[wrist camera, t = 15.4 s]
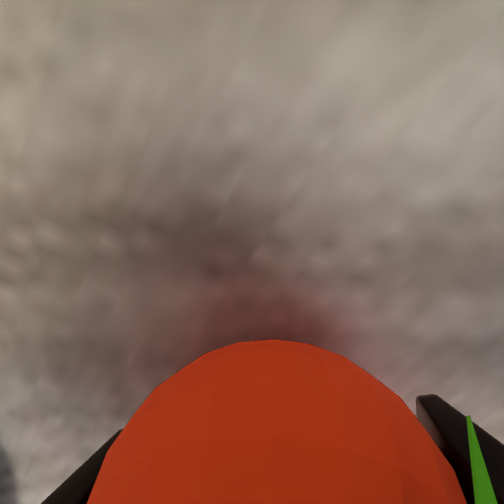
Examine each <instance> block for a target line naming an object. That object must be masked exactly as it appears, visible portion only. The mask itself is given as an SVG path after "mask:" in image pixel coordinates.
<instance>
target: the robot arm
mask: <svg viewBox="0 0 504 504" xmlns="http://www.w3.org/2000/svg"><path fill="white" fill-rule="evenodd" d="M416 413H417V419H418V420H419V421H420V423H421V424H422V425H423V426H424V428H425V429H426V431H427V432H428V433H429V435H430V436H431V438H432V439H433V441H434V442H435V443H436V445H437V446H438V448H439V449H440V451H441V452H442V453H443V455H444V456H445V458H446V459H447V461H448V462H449V463H450V465H451V466H452V468H453V469H454V471H455V474H456V476H457V479H458V481H459V484H460V487H461V489H462V492H463V494H464V497H465V499H466V502H467V504H475V497H474V487H473V478H472V468H471V458H470V448H469V438H468V428H467V418H466V416H464V415H463V414H461V413H460V412H459V411H457V410H456V409H455V408H453V407H452V406H451V405H449V404H448V403H447V402H445V401H444V400H443V399H441V398H440V397H438V396H437V395H434V394H429V395H420V396H417V397H416ZM472 424H473V427H474V431H475V434H476V437H477V440H478V443H479V446H480V450H481V453H482V456H483V459H484V462H485V466H486V469H487V472H488V475H489V478H490V481H491V485H492V488H493V491H494V494H495V497H496V500H497V504H504V445H503V444H502V443H501V442H499V441H498V440H497V439H495V438H494V437H493V436H491V435H490V434H489V433H487V432H486V431H484V430H483V429H482V428H480V427H479V426H478V425H476V424H475V423H474V422H472ZM122 430H123V429H121V430H119V431H118V432H117V433H116V434H115V435H114V436H112V437H111V438H110V439H109V440H108V441H107V442H106V443H105V444H104V445H103V446H102V447H101V448H100V449H99V450H98V451H96V452H95V453H94V454H93V455H92V456H91V457H90V458H89V459H88V460H87V461H86V462H85V463H84V464H83V465H82V466H80V467H79V468H78V469H77V470H76V471H75V472H74V473H73V474H72V475H71V476H70V477H69V478H68V479H67V480H65V481H64V482H63V483H62V484H61V485H60V486H59V487H58V488H57V489H56V490H55V491H54V492H53V493H52V494H51V495H49V496H48V497H47V498H46V499H45V500H44V501H43V502H42V503H41V504H87V502H88V499H89V497H90V494H91V491H92V489H93V486H94V484H95V481H96V479H97V476H98V474H99V471H100V469H101V466H102V464H103V461H104V458H105V456H106V453H107V451H108V450H109V448H110V447H111V446H112V444H113V443H114V441H115V440H116V439H117V437H118V436H119V434H120V433H121V432H122Z"/></svg>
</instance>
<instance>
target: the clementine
mask: <svg viewBox="0 0 504 504" xmlns="http://www.w3.org/2000/svg"><path fill="white" fill-rule="evenodd" d="M466 418H467V428H468V438H469V448H470V458H471V468H472V478H473V487H474V497H475V504H497V500H496V497H495V494H494V491H493V488H492V485H491V481H490V478H489V475H488V472H487V469H486V466H485V462H484V459H483V456H482V453H481V450H480V446H479V443H478V440H477V437H476V434H475V431H474V427H473V424H472V421H471V418H470V416H466ZM87 504H467V502H466V499H465V497H464V494H463V492H462V489H461V487H460V484H459V481H458V479H457V476H456V474H455V471H454V469H453V468H452V466H451V465H450V463H449V462H448V461H447V459H446V458H445V456H444V455H443V453H442V452H441V451H440V449H439V448H438V446H437V445H436V443H435V442H434V441H433V439H432V438H431V436H430V435H429V433H428V432H427V431H426V429H425V428H424V426H423V425H422V424H421V423H420V421H419V420H418V419H417V418H416V416H415V415H414V414H413V413H412V411H411V410H410V409H409V408H408V407H407V405H406V404H405V403H404V402H403V400H402V399H401V398H400V397H399V396H398V395H396V394H395V393H394V392H393V391H391V390H390V389H389V388H387V387H386V386H385V385H383V384H382V383H381V382H380V381H378V380H377V379H376V378H374V377H373V376H372V375H370V374H369V373H367V372H366V371H365V370H363V369H362V368H360V367H359V366H357V365H356V364H354V363H353V362H351V361H350V360H349V359H347V358H346V357H344V356H341V355H338V354H336V353H333V352H330V351H328V350H325V349H322V348H320V347H317V346H314V345H312V344H306V343H299V342H291V341H284V340H276V339H270V340H259V341H248V342H237V343H234V344H231V345H228V346H225V347H222V348H220V349H217V350H214V351H211V352H208V353H205V354H204V355H202V356H201V357H199V358H198V359H196V360H195V361H193V362H192V363H190V364H189V365H187V366H186V367H184V368H182V369H181V370H180V371H178V372H177V373H175V374H174V375H173V376H171V377H170V378H168V379H167V380H166V381H164V382H163V383H161V384H160V385H159V386H157V387H156V388H155V389H154V390H153V391H152V392H151V394H150V395H149V396H148V397H147V399H146V400H145V401H144V402H143V404H142V405H141V406H140V407H139V409H138V410H137V411H136V412H135V414H134V415H133V416H132V418H131V419H130V421H129V422H128V423H127V425H126V426H125V428H124V429H123V430H122V432H121V433H120V434H119V436H118V437H117V439H116V440H115V441H114V443H113V444H112V446H111V447H110V448H109V450H108V451H107V453H106V456H105V458H104V461H103V464H102V466H101V469H100V471H99V474H98V476H97V479H96V481H95V484H94V486H93V489H92V491H91V494H90V497H89V499H88V502H87Z"/></svg>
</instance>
